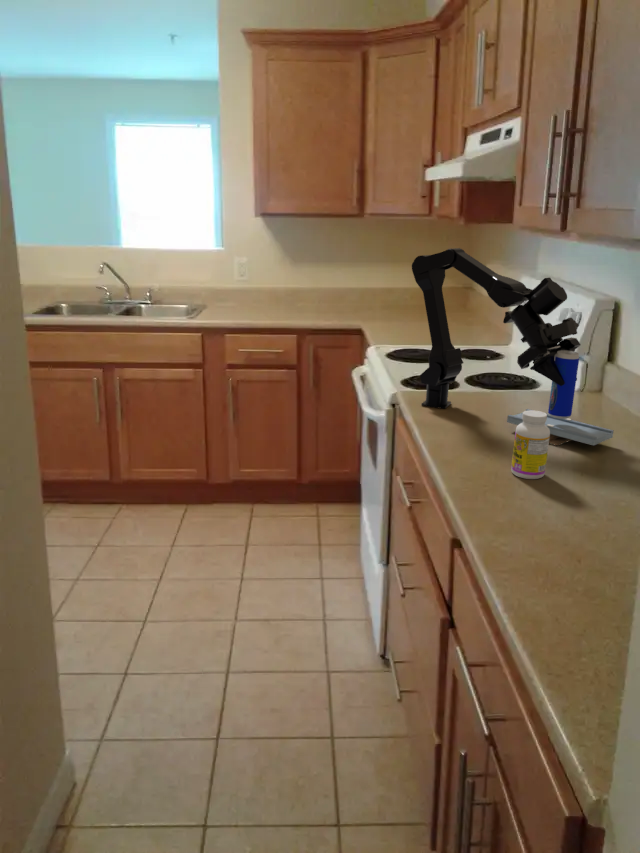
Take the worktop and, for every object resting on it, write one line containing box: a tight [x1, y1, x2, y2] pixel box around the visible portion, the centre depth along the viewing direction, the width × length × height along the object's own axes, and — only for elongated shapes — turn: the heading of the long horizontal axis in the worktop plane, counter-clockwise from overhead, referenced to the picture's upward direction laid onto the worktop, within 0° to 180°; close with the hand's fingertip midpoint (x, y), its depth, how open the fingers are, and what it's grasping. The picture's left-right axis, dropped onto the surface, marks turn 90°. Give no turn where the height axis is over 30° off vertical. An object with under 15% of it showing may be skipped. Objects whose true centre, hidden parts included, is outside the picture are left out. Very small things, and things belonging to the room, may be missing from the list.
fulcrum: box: [549, 434, 572, 446], centre depth 175 cm, size 6×11×2 cm, turn 134°
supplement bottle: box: [510, 409, 550, 480], centre depth 149 cm, size 7×7×13 cm
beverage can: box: [547, 350, 580, 419], centre depth 171 cm, size 5×5×15 cm
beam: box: [506, 408, 614, 446], centre depth 174 cm, size 22×9×2 cm, turn 44°
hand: (569, 383), depth 170 cm, fingers closed on beverage can, 5 cm apart
